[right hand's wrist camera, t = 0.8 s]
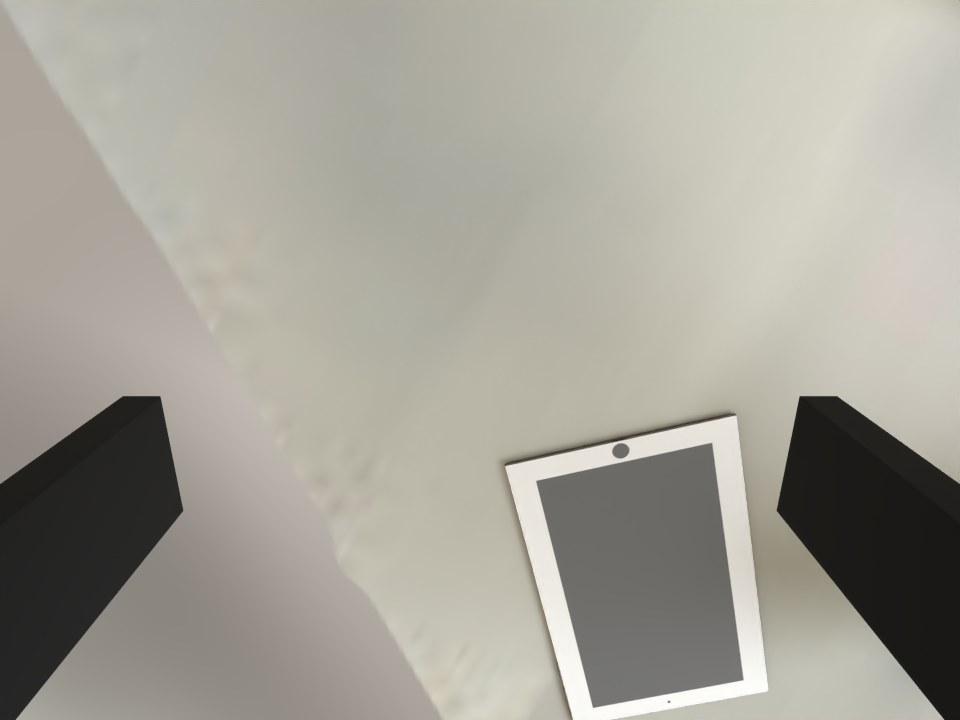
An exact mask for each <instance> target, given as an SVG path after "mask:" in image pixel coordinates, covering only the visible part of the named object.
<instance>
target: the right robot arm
mask: <svg viewBox="0 0 960 720" xmlns="http://www.w3.org/2000/svg"><path fill="white" fill-rule="evenodd" d="M182 512H183V507H182V502H181V497H180V492H179V487H178V482H177V477H176V472H175V467H174V462H173V457H172V452H171V447H170V442H169V437H168V432H167V427H166V422H165V417H164V412H163V408H162V402H161V397H160V396H123V397H121V398H120V399H119V400H117V401H116V402H114V403H113V404H112V405H110V406H109V407H107V408H106V409H105V410H103V411H102V412H100V413H99V414H98V415H96V416H95V417H93V418H92V419H91V420H89V421H88V422H86V423H85V424H84V425H82V426H81V427H79V428H78V429H77V430H75V431H74V432H72V433H71V434H70V435H68V436H67V437H65V438H64V439H63V440H61V441H60V442H58V443H57V444H56V445H54V446H53V447H51V448H50V449H49V450H47V451H46V452H44V453H43V454H42V455H40V456H39V457H38V458H36V459H35V460H33V461H32V462H30V463H29V464H28V465H26V466H25V467H23V468H22V469H21V470H19V471H18V472H17V473H15V474H14V475H12V476H11V477H10V478H8V479H7V480H5V481H4V482H3V483H1V484H0V720H16V719H17V717H18V716H19V715H20V714H21V712H22V711H23V710H24V709H25V707H26V706H27V705H28V704H29V702H30V701H31V700H32V699H33V697H34V696H35V695H36V694H37V692H38V691H39V690H40V689H41V687H42V686H43V685H44V684H45V682H46V681H47V680H48V679H49V677H50V676H51V675H52V674H53V672H54V671H55V670H56V669H57V667H58V666H59V665H60V664H61V663H62V661H63V660H64V659H65V657H66V656H67V655H68V654H69V653H70V651H71V650H72V649H73V648H74V646H75V645H76V644H77V642H78V641H79V640H80V639H81V638H82V636H83V635H84V634H85V633H86V631H87V630H88V629H89V628H90V626H91V625H92V624H93V623H94V621H95V620H96V619H97V618H98V616H99V615H100V614H101V613H102V611H103V610H104V609H105V608H106V606H107V605H108V604H109V603H110V601H111V600H112V599H113V598H114V596H115V595H116V594H117V593H118V591H119V590H120V589H121V588H122V586H123V585H124V584H125V583H126V581H127V580H128V579H129V578H130V577H131V575H132V574H133V573H134V571H135V570H136V569H137V568H138V567H139V565H140V564H141V563H142V562H143V560H144V559H145V558H146V556H147V555H148V554H149V553H150V552H151V550H152V549H153V548H154V547H155V545H156V544H157V543H158V542H159V540H160V539H161V538H162V537H163V535H164V534H165V533H166V532H167V530H168V529H169V528H170V527H171V525H172V524H173V523H174V522H175V520H176V519H177V518H178V517H179V515H180V514H181V513H182ZM777 512H778V513H779V514H780V515H781V517H782V518H783V519H784V520H785V522H786V523H787V524H788V525H789V527H790V528H791V529H792V530H793V532H794V533H795V534H796V535H797V537H798V538H799V539H800V540H801V542H802V543H803V544H804V545H805V547H806V548H807V549H808V550H809V552H810V553H811V554H812V555H813V557H814V558H815V559H816V560H817V562H818V563H819V564H820V565H821V567H822V568H823V569H824V570H825V572H826V573H827V574H828V575H829V577H830V578H831V579H832V580H833V581H834V583H835V584H836V585H837V586H838V588H839V589H840V590H841V591H842V593H843V594H844V595H845V596H846V598H847V599H848V600H849V601H850V603H851V604H852V605H853V606H854V608H855V609H856V610H857V611H858V613H859V614H860V615H861V616H862V618H863V619H864V620H865V621H866V623H867V624H868V625H869V626H870V628H871V629H872V630H873V631H874V633H875V634H876V635H877V636H878V638H879V639H880V640H881V641H882V643H883V644H884V645H885V646H886V648H887V649H888V650H889V651H890V653H891V654H892V655H893V656H894V658H895V659H896V660H897V661H898V663H899V664H900V665H901V666H902V667H903V669H904V670H905V671H906V672H907V674H908V675H909V676H910V677H911V679H912V680H913V681H914V682H915V684H916V685H917V686H918V687H919V689H920V690H921V691H922V692H923V694H924V695H925V696H926V697H927V699H928V700H929V701H930V702H931V704H932V705H933V706H934V707H935V709H936V710H937V711H938V712H939V714H940V715H941V716H942V717H943V719H944V720H960V484H959V483H957V482H956V481H955V480H953V479H952V478H950V477H949V476H948V475H946V474H945V473H944V472H942V471H941V470H939V469H938V468H937V467H935V466H934V465H932V464H931V463H930V462H928V461H927V460H925V459H924V458H923V457H921V456H920V455H918V454H917V453H916V452H914V451H913V450H911V449H910V448H909V447H907V446H906V445H904V444H903V443H902V442H900V441H899V440H897V439H896V438H895V437H893V436H892V435H890V434H889V433H888V432H886V431H885V430H883V429H882V428H881V427H879V426H878V425H876V424H875V423H874V422H872V421H871V420H869V419H868V418H867V417H865V416H864V415H862V414H861V413H860V412H858V411H857V410H855V409H854V408H853V407H851V406H850V405H848V404H847V403H846V402H844V401H843V400H841V399H840V398H839V397H837V396H800V397H799V402H798V407H797V412H796V417H795V422H794V427H793V432H792V437H791V442H790V447H789V452H788V457H787V462H786V467H785V472H784V477H783V482H782V487H781V492H780V497H779V502H778V507H777Z"/></svg>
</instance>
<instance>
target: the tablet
mask: <svg viewBox="0 0 960 720" xmlns="http://www.w3.org/2000/svg"><path fill="white" fill-rule="evenodd" d="M505 468H506V471H507V475H508V479H509V482H510V486H511V490H512V494H513V497H514V501H515V505H516V509H517V512H518V516H519V520H520V523H521V527H522V531H523V535H524V538H525V542H526V546H527V550H528V553H529V557H530V561H531V564H532V568H533V572H534V576H535V579H536V583H537V587H538V590H539V594H540V598H541V602H542V605H543V609H544V613H545V617H546V620H547V624H548V628H549V631H550V635H551V639H552V643H553V646H554V650H555V654H556V658H557V661H558V662H557V667H558V670H559V674H560V678H562V680H563V684H564V687H563V689H564V693H565V696H566V700H567V704H568V708H569V711H570V714H572V717H573V720H612V719H617V718H623V717H628V716H634V715H639V714H645V713H650V712H656V711H661V710H667V709H672V708H678V707H683V706H689V705H694V704H700V703H706V702H711V701H717V700H722V699H728V698H733V697H739V696H744V695H750V694H755V693H761V692H766V691H768V684H767V675H766V666H765V658H764V649H763V640H762V632H761V623H760V614H759V606H758V597H757V588H756V580H755V571H754V563H753V554H752V545H751V537H750V528H749V519H748V511H747V502H746V493H745V485H744V476H743V467H742V459H741V450H740V441H739V433H738V424H737V415H736V414H730V415H726V416H721V417H717V418H712V419H708V420H703V421H699V422H694V423H690V424H685V425H681V426H676V427H671V428H667V429H662V430H658V431H653V432H649V433H644V434H640V435H635V436H631V437H626V438H621V439H617V440H612V441H608V442H603V443H599V444H594V445H590V446H585V447H581V448H576V449H572V450H567V451H562V452H558V453H553V454H549V455H544V456H540V457H535V458H531V459H526V460H522V461H517V462H512V463H508V464H505Z"/></svg>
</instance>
